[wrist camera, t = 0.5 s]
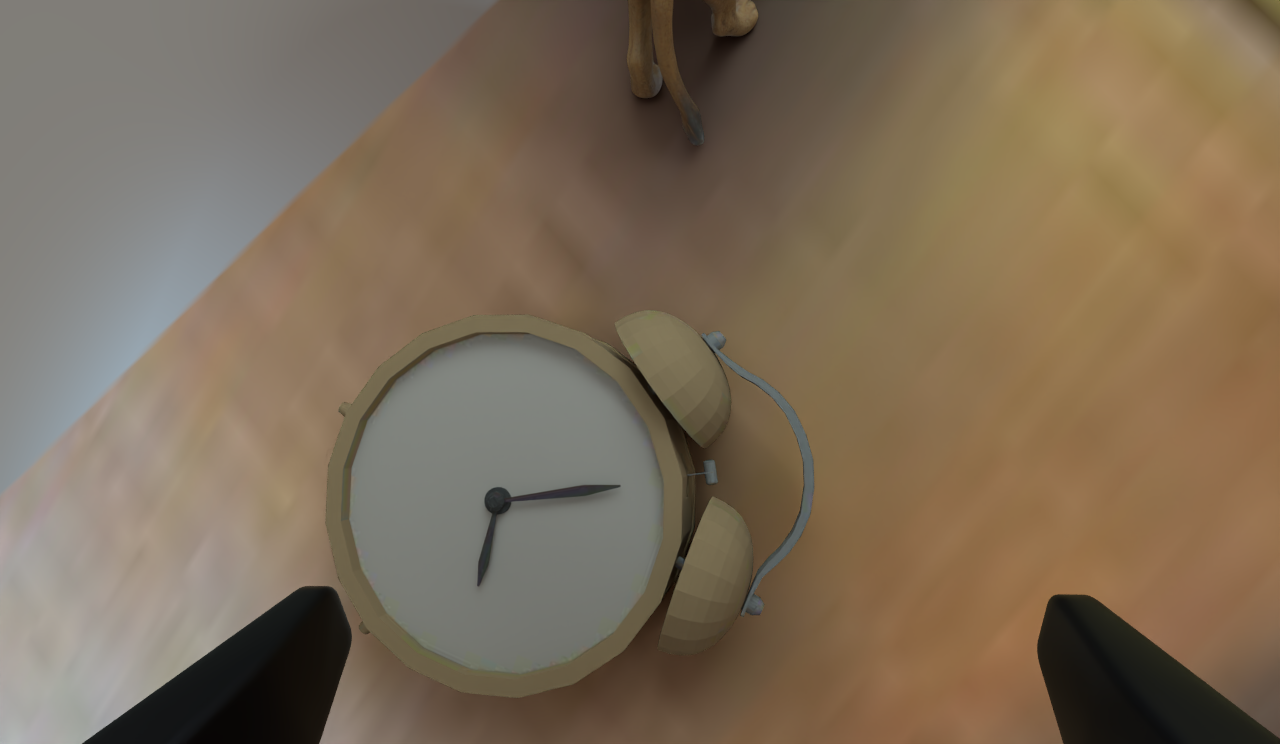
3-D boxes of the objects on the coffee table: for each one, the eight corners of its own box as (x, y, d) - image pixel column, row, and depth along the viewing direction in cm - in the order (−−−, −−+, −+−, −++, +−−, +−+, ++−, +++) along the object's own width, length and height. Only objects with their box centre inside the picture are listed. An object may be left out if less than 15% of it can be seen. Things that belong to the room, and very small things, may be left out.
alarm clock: (301, 345, 23) (773, 249, 19) (396, 356, 28) (790, 282, 23) (334, 710, 22) (842, 696, 18) (427, 657, 27) (846, 636, 22)
